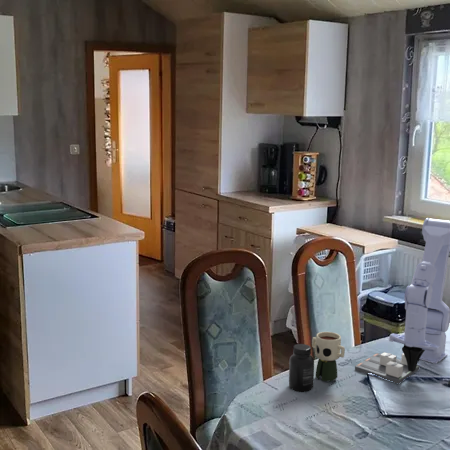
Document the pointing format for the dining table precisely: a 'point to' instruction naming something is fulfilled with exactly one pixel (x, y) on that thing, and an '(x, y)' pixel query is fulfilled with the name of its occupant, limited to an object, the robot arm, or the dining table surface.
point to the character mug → (327, 354)
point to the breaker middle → (387, 358)
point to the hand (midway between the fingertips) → (411, 370)
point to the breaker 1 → (394, 369)
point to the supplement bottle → (301, 369)
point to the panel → (383, 369)
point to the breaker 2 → (404, 360)
